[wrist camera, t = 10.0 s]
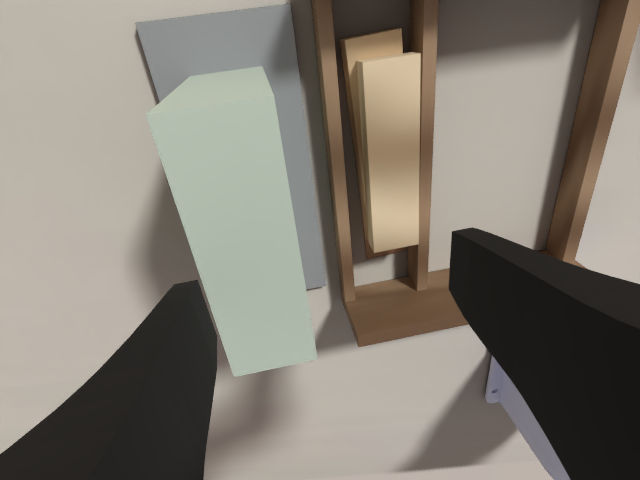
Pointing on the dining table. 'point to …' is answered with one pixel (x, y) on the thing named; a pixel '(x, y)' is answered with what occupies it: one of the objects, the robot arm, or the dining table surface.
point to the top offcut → (391, 147)
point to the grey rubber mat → (239, 53)
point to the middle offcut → (352, 51)
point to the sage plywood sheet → (238, 214)
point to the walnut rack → (420, 286)
